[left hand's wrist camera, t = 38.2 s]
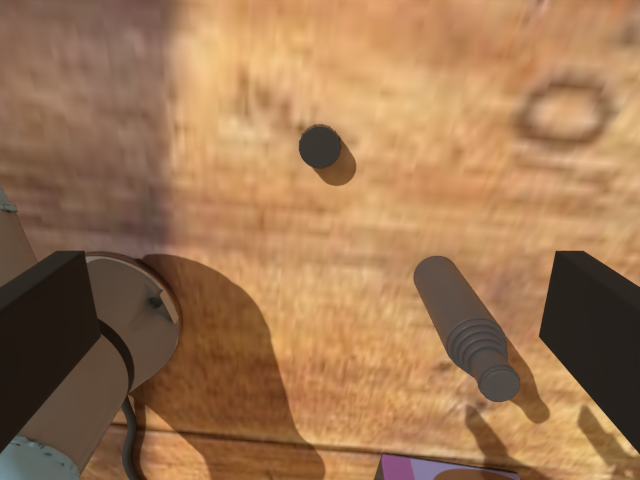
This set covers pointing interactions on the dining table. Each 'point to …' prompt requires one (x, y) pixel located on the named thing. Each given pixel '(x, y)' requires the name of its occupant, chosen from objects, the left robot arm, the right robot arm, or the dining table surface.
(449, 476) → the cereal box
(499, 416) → the dining table surface
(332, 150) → the cap
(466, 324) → the bottle
